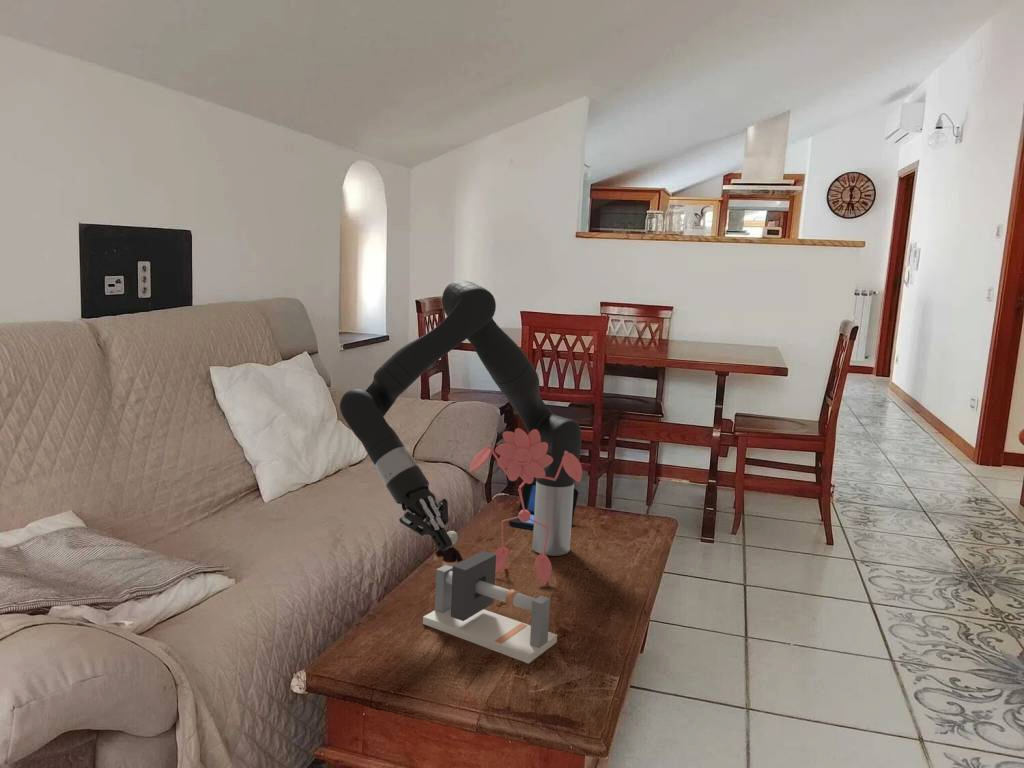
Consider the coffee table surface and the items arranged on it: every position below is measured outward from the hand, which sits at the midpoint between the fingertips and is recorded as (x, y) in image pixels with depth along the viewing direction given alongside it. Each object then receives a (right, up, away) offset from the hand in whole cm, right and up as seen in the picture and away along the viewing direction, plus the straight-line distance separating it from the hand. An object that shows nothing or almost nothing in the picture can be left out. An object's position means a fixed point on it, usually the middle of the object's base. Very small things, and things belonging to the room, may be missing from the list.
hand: (447, 548), depth 154 cm
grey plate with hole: (+5, -11, -2) cm, 13 cm away
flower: (+13, -12, +20) cm, 27 cm away
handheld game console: (+21, -6, +60) cm, 64 cm away
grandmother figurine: (-1, -12, +16) cm, 20 cm away
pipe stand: (+8, -15, -3) cm, 18 cm away
